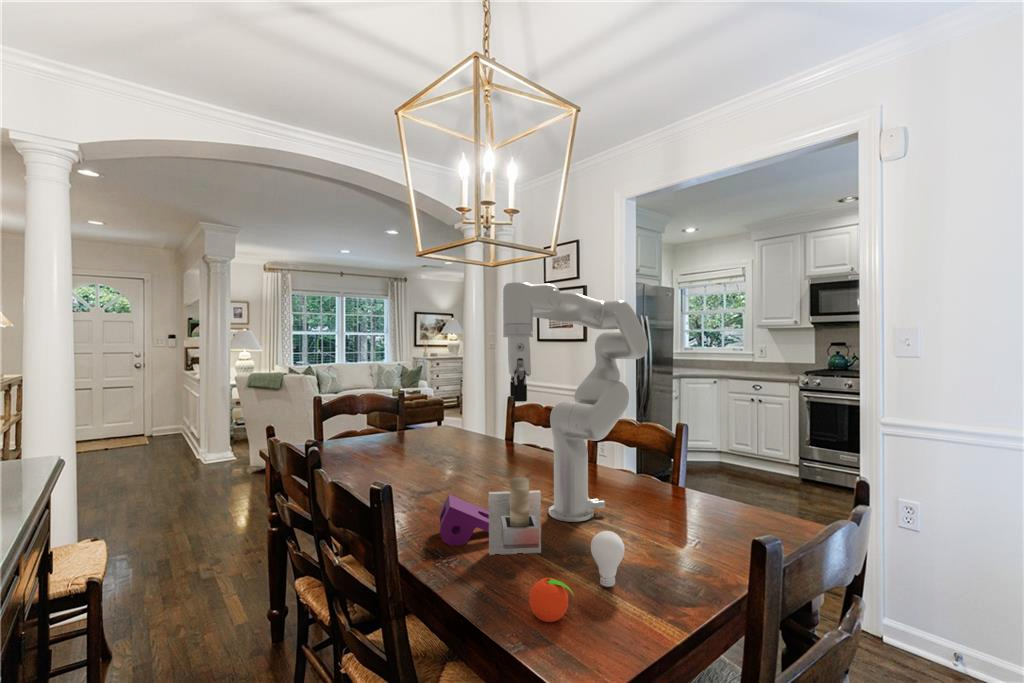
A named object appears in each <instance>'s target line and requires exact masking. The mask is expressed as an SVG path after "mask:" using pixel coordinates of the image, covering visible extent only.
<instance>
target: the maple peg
mask: <svg viewBox="0 0 1024 683" xmlns="http://www.w3.org/2000/svg"><path fill="white" fill-rule="evenodd" d="M509 491H510V527H529V491H530V479H529V478H528V477H523V476H522V477H521V476H517V477H512V478H510V479H509Z"/></svg>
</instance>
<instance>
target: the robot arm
mask: <svg viewBox="0 0 1024 683" xmlns="http://www.w3.org/2000/svg"><path fill="white" fill-rule="evenodd" d="M502 315H503V316H502V317H503V318H502V319H503V320H502V321H503V322H502V324H503V326H502V330H503V332H502V333H503V335H502V336H503V338H507V361H508V373H509V375H510V381H509V382H510V387H509V388H510V389H509V391H510V392H509V394H510V397H512V398H513V401H514V402H515V403H518V402H519V403H520V402H521V403H522V402H527V400H528V385H527V377H531V375H532V365H531V364H532V363H531V345H530V344H531V343H530V342H531V341H530V338H534V326H533V325H534V324H533V323H534V322H533V320H534V318H537V319H542V320H543V319H545V320H551V321H556V322H560V323H570V324H574V325H577V326H583V327H587V328H589V329H594V330H600V331H601V330H612V331H606V332H603V333H600V334H599V335H598V336H597V337H596V339H595V343H594V353H595V354H594V355H595V364H594V367H593V368H592V370H591V371H590V372H589V374H587V376H586V377H585V378H584V379H583V380H582V381H581V383H579V385H578V387H577V388H576V390H575V391H574V395H573V399H574V401H562V402H558V403H557V404H555V406H554V407H553V408H552V409H551V411H550V415H549V422H550V428H551V429H550V430H551V433H552V439H553V440H552V441H553V442H552V443H553V505H551V506H550V507H548V515H549V516H550V517H552V519H555V520H558V521H562V522H567V523H568V522H569V523H570V522H571V523H578V522H579V523H580V522H584V521H589V520H590V519H591V518H593V517H594V515H595V514H594V509H597V508H598V509H605V508H606V503H605V500H599V499H598V498H593V499H591V498H590V497H589V453H588V447H587V445H586V441H585V440H587V441H595V442H597V441H601V440H603V439H604V438H606V437H607V436H608V435H609V433H610V432H611V430H612V429H613V428H614V427H615V425H616V424H617V423H618V422H619V420H620V418H621V417H622V416H623V415H624V413H625V412H626V410H627V408H628V405H629V401H630V393H629V389H628V387H627V386H626V385H625V383H623V382H621V381H620V379H621V373H620V372H621V371H620V369H619V368H618V365H617V360H618V359H619V360H639V359H642V358H643V357H645V355H646V354H647V352H648V349H649V342H648V338H647V335H646V333H645V331H644V329H643V326H642V325H641V322H640V320H639V318H638V316H637V314H636V312H635V311H634V309H633V308H632V306H631V305H630V304H629V303H628V302H627V301H625V300H623V299H619V300H617V299H616V300H599V299H595V298H592V297H590V296H586V295H583V294H580V293H575V292H574V293H573V292H571V293H570V292H565V293H564V292H563V293H561V291H560V289H559V288H557V286H555V285H554V284H551V283H529V282H522V281H521V282H517V281H516V282H515V281H514V282H508V283H506V284H505V285H504V286H503V289H502ZM613 330H614V331H613ZM615 330H617V331H615Z"/></svg>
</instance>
